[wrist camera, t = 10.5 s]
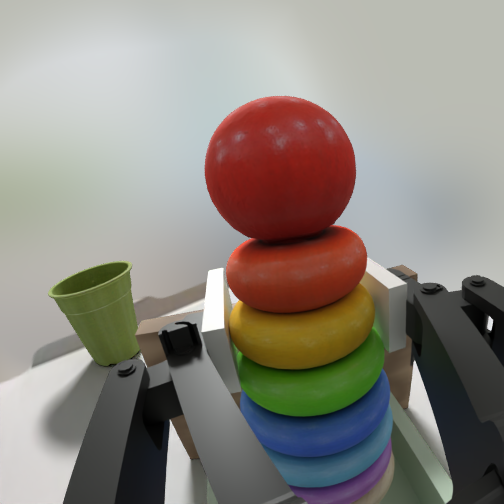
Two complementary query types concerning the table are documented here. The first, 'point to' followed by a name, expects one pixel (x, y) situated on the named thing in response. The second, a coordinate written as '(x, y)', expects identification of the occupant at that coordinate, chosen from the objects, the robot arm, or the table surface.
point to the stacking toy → (302, 301)
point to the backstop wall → (154, 354)
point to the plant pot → (101, 310)
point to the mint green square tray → (407, 467)
